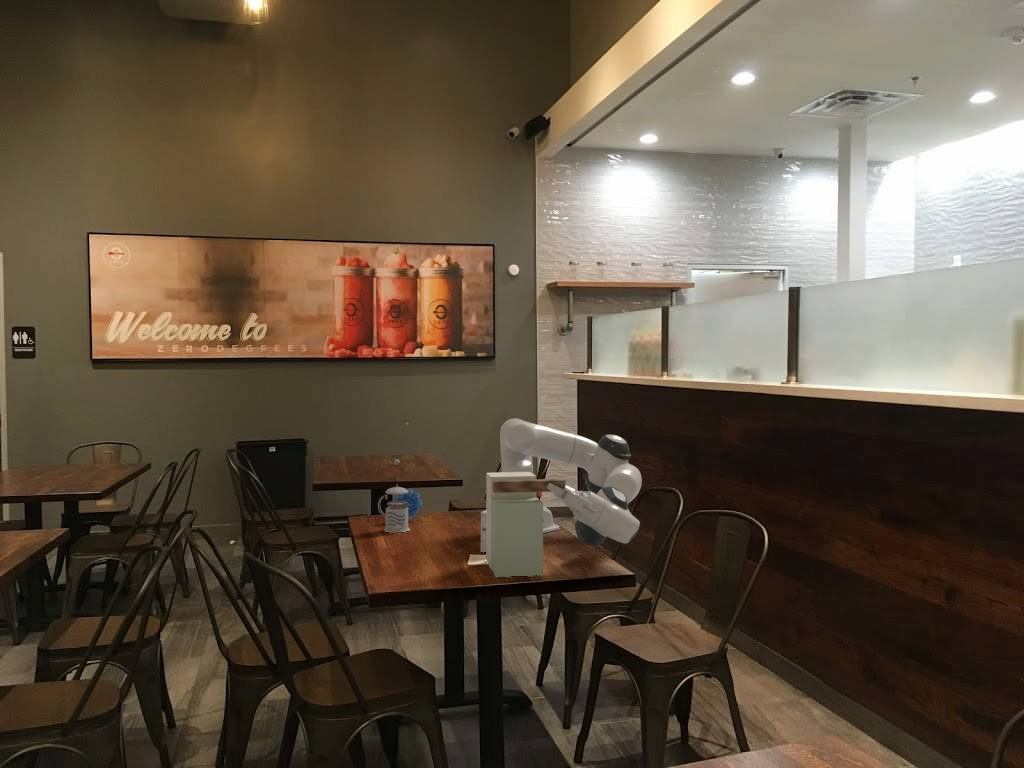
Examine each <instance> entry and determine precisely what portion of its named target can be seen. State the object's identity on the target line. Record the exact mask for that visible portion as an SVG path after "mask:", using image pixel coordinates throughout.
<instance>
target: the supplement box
mask: <svg viewBox="0 0 1024 768" xmlns="http://www.w3.org/2000/svg"><path fill="white" fill-rule="evenodd" d="M481 552H483V553H484V552H486V509H485V510H484V511H481V512H480V553H481Z"/></svg>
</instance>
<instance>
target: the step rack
mask: <svg viewBox="0 0 1024 768" xmlns="http://www.w3.org/2000/svg"><path fill="white" fill-rule="evenodd" d="M485 474H486V477H485V478H486V482H485V483H486V491H485V492H486V504H485V505H486V507H485V508H486V509H485V510H486V553H485V555H486V557H485V558H486V560H487V561H486V560H485V561H486V563H487V562H488V563H487V565H488V564H489V565H488V566H489V568H490V570H491V571H493V572H492V574H493V573H494V574H493V576H494V577H495V576H496V577H506V578H510V577H509V576H528V577H543V576H544V533H543V506H544V502H543V501H542V500H541V499H539V497H537V496H536V492H512V493H494V492H493V480H535V479H537V475H536V474H534V473H533V474H532V473H531V472H502V471H501V472H500V471H499V472H498V471H497V472H496V471H495V472H486V473H485ZM534 575H535V576H534ZM536 575H537V576H536ZM539 575H540V576H539ZM496 577H495V578H496Z"/></svg>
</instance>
